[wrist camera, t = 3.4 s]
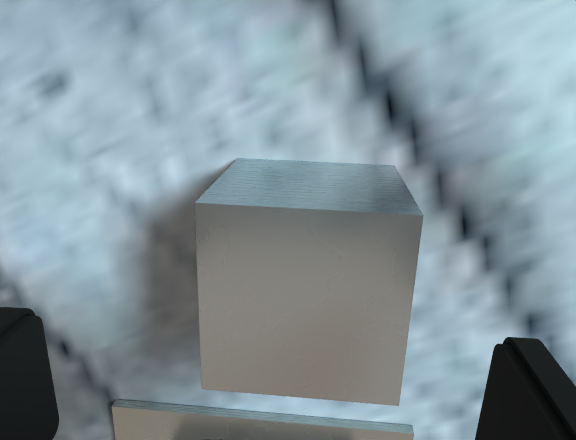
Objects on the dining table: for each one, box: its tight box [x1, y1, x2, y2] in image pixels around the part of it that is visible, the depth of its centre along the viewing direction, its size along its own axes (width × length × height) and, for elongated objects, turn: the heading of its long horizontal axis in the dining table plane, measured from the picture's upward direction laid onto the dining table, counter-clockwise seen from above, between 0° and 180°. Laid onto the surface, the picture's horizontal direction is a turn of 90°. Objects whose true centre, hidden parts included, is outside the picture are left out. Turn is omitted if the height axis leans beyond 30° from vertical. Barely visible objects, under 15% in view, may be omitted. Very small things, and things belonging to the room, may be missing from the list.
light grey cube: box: [194, 158, 423, 406], centre depth 16 cm, size 6×6×6 cm
